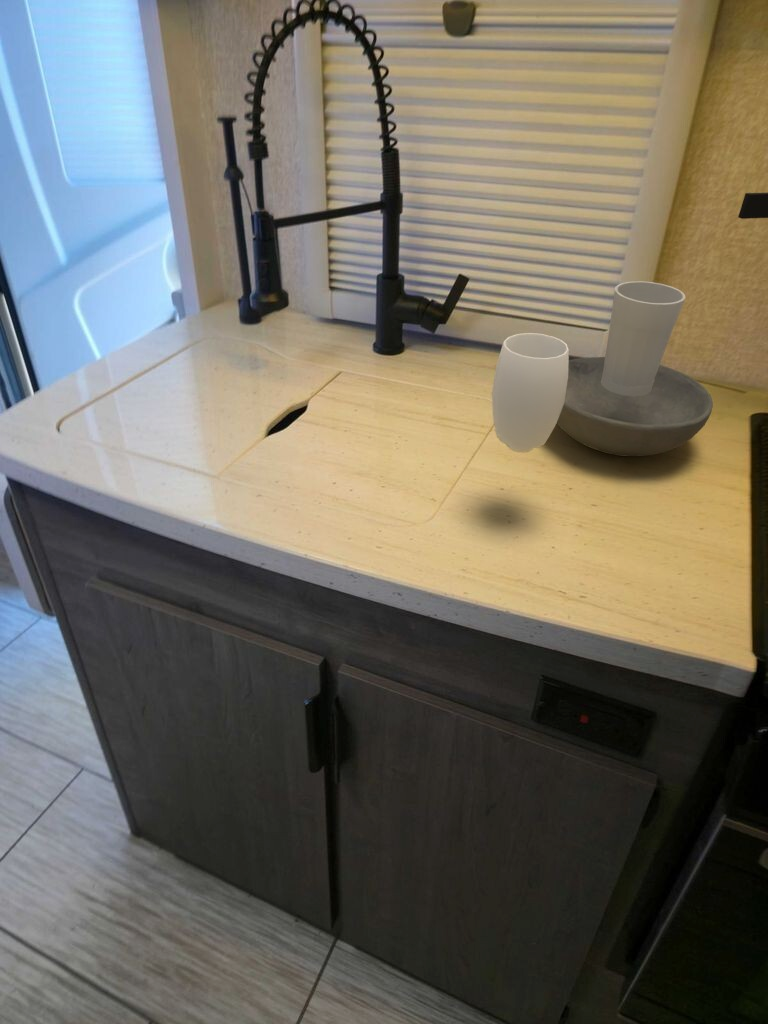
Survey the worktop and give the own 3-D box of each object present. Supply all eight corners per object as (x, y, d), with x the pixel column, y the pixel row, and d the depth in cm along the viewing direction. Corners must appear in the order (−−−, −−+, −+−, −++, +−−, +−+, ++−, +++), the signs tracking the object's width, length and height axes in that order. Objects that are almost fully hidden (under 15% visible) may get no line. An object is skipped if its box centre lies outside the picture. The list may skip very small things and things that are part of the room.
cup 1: (471, 499, 79) (490, 331, 66) (530, 496, 79) (560, 329, 67) (484, 538, 73) (508, 362, 60) (548, 534, 74) (585, 359, 61)
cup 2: (590, 392, 84) (610, 298, 77) (598, 367, 90) (619, 277, 82) (656, 404, 81) (684, 308, 74) (660, 377, 87) (686, 286, 80)
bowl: (516, 458, 86) (524, 402, 81) (552, 391, 101) (561, 341, 97) (688, 499, 79) (709, 441, 75) (700, 421, 95) (718, 369, 90)
